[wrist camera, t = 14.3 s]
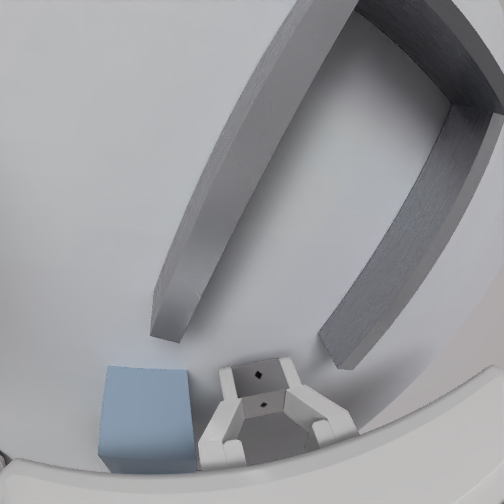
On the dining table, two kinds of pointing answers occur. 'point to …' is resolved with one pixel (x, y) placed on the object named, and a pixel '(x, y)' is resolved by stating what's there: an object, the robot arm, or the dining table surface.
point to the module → (147, 422)
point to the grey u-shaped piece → (273, 128)
